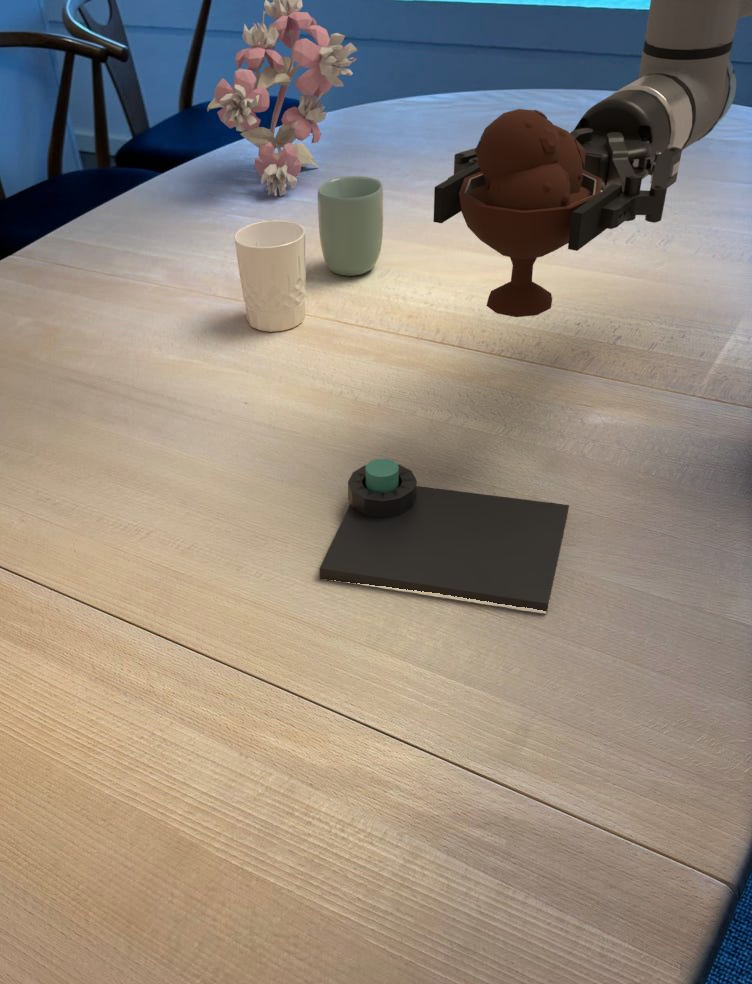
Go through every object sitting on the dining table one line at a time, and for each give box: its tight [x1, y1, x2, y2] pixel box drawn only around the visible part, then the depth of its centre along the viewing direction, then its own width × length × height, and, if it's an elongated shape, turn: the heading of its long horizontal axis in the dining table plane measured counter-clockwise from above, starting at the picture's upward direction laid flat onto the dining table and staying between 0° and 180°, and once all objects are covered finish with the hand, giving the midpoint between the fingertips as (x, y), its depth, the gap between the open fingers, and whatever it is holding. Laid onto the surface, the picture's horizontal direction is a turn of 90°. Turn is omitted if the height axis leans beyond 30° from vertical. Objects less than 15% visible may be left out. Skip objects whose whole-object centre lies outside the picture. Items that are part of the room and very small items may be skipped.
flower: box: [206, 0, 358, 197], centre depth 144 cm, size 20×22×25 cm
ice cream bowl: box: [459, 108, 602, 318], centre depth 78 cm, size 11×11×15 cm
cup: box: [317, 175, 384, 277], centre depth 120 cm, size 8×8×10 cm
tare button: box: [365, 458, 399, 493], centre depth 83 cm, size 3×3×2 cm
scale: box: [319, 464, 570, 612], centre depth 80 cm, size 18×13×3 cm
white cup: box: [233, 219, 307, 333], centre depth 111 cm, size 8×8×10 cm
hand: (503, 218), depth 75 cm, fingers closed on ice cream bowl, 11 cm apart
